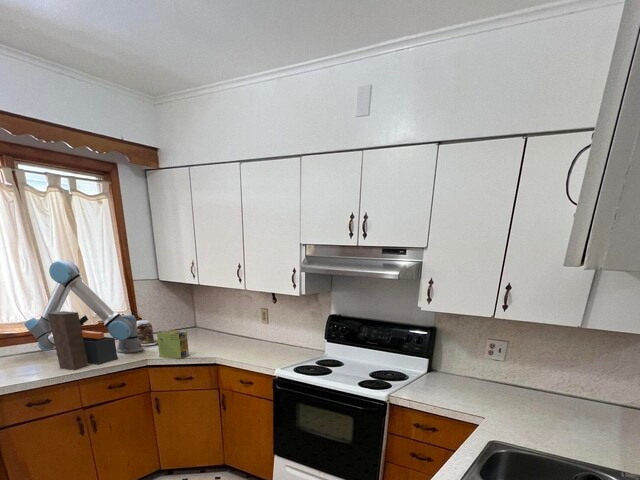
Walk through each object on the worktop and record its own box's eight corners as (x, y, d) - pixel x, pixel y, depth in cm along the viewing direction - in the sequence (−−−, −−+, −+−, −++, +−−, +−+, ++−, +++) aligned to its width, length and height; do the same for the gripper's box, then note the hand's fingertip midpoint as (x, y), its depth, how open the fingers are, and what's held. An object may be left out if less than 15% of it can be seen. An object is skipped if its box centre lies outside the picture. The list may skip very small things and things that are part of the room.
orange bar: (70, 335, 253) (69, 330, 251) (76, 334, 257) (75, 329, 256) (98, 338, 248) (98, 333, 247) (104, 337, 252) (103, 332, 251)
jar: (140, 340, 317) (137, 319, 311) (156, 340, 317) (153, 320, 311) (134, 343, 306) (131, 322, 300) (150, 343, 306) (147, 322, 300)
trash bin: (65, 361, 254) (61, 339, 248) (85, 355, 267) (81, 334, 262) (99, 364, 248) (95, 342, 243) (117, 358, 262) (114, 337, 257)
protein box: (181, 358, 267) (178, 333, 261) (159, 356, 270) (156, 332, 264) (189, 355, 277) (187, 331, 271) (167, 353, 280) (165, 329, 274)
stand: (60, 368, 238) (47, 313, 226) (74, 364, 247) (63, 311, 235) (74, 370, 236) (63, 314, 224) (88, 365, 245) (78, 312, 233)
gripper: (74, 338, 267) (97, 321, 258) (49, 344, 250) (73, 326, 241) (67, 327, 265) (90, 310, 256) (41, 332, 248) (65, 314, 239)
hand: (82, 318), depth 249 cm, fingers open, 6 cm apart
